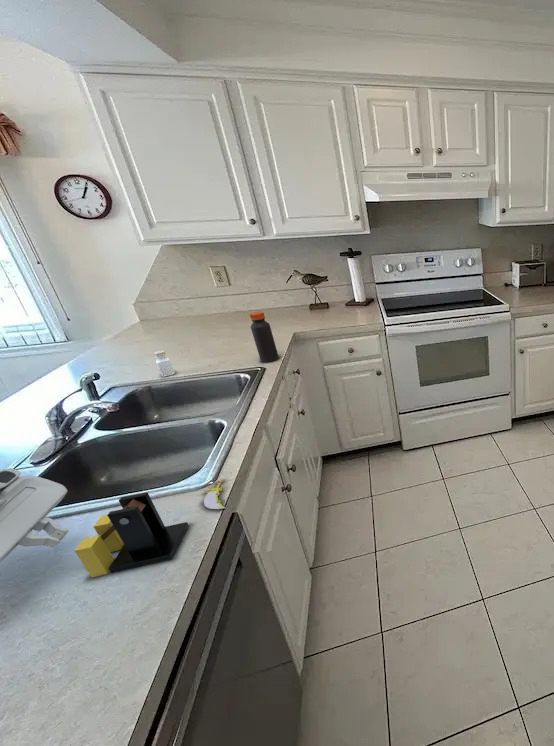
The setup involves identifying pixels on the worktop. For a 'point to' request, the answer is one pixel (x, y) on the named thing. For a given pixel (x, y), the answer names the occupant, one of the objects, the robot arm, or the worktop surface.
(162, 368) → the pepper shaker
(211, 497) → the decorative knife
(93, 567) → the butter
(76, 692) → the worktop surface
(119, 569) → the bracket
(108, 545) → the butter
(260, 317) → the bottle
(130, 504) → the arm
